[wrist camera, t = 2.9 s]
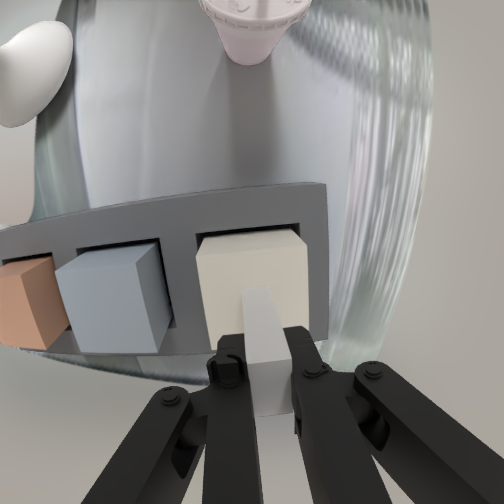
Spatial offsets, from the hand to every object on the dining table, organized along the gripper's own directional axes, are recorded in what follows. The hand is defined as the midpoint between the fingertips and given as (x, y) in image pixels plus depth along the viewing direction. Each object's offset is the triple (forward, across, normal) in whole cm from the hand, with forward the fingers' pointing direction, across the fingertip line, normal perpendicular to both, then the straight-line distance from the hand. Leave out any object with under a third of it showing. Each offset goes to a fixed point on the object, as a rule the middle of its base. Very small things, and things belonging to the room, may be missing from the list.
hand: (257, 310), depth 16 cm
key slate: (+6, -10, 0) cm, 11 cm away
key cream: (+6, 0, 0) cm, 6 cm away
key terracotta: (+6, -19, 0) cm, 20 cm away
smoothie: (+9, +2, +18) cm, 20 cm away
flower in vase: (+9, -18, +21) cm, 30 cm away
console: (+9, -10, 0) cm, 13 cm away
